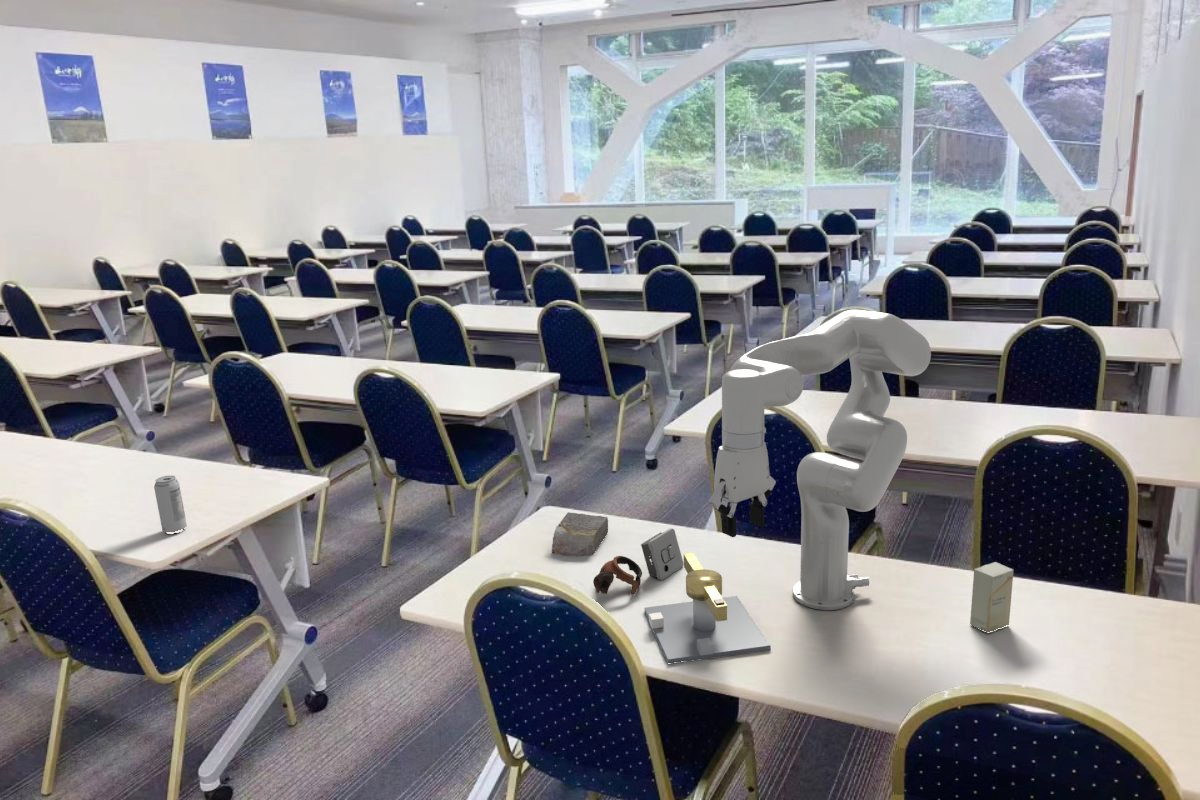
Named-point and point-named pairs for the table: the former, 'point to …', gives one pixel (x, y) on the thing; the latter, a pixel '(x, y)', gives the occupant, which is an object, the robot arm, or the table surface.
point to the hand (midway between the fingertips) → (743, 528)
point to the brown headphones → (617, 575)
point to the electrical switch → (662, 554)
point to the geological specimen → (579, 534)
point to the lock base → (704, 631)
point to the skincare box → (991, 596)
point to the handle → (705, 586)
